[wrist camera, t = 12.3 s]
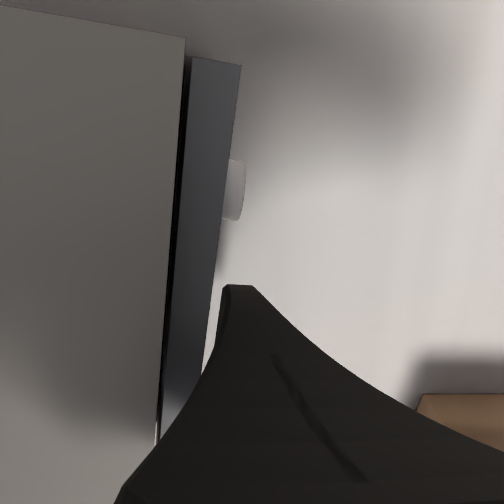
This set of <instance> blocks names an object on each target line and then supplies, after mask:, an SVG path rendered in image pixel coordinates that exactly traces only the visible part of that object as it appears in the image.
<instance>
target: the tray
mask: <svg viewBox="0 0 504 504" xmlns="http://www.w3.org/2000/svg"><path fill="white" fill-rule="evenodd" d="M240 71H241V65H237V64H231V63H225V62H219V61H213V60H207V59H201V58H195V57H189V56H187V57H186V69H185V82H184V94H183V107H182V119H181V132H180V145H179V157H178V170H177V182H176V195H175V207H174V220H173V232H172V245H171V258H170V270H169V283H168V295H167V308H166V320H165V333H164V345H163V358H162V370H161V383H160V396H159V408H158V421H157V436H156V444H157V443H158V442H159V441H160V439H161V438H162V436H163V435H164V434H165V432H166V431H167V429H168V428H169V427H170V425H171V424H172V422H173V421H174V419H175V418H176V417H177V415H178V414H179V412H180V411H181V409H182V408H183V406H184V405H185V403H186V401H187V400H188V398H189V397H190V395H191V393H192V391H193V389H194V388H195V386H196V384H197V382H198V381H199V379H200V377H201V371H202V363H203V356H204V348H205V340H206V333H207V325H208V317H209V310H210V302H211V294H212V286H213V279H214V271H215V263H216V256H217V248H218V240H219V233H220V225H221V219H225V220H236V221H237V220H238V219H239V217H240V214H241V210H242V205H243V199H244V190H245V166H244V162H243V161H239V160H231V159H229V156H230V148H231V140H232V133H233V125H234V117H235V110H236V102H237V94H238V87H239V79H240Z"/></svg>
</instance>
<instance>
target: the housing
mask: <svg viewBox="0 0 504 504" xmlns="http://www.w3.org/2000/svg"><path fill="white" fill-rule="evenodd" d="M185 39H186V38H184V37H178V36H173V35H167V34H162V33H156V32H150V31H145V30H139V29H134V28H128V27H122V26H117V25H111V24H105V23H100V22H94V21H89V20H83V19H77V18H72V17H66V16H61V15H55V14H49V13H44V12H38V11H32V10H27V9H21V8H16V7H10V6H4V5H0V504H114V502H115V499H116V497H117V495H118V493H119V491H120V489H121V486H122V485H123V484H124V483H125V481H126V480H127V479H128V478H129V477H130V476H131V474H132V473H133V472H134V471H135V470H136V468H137V467H138V466H139V465H140V464H141V463H142V461H143V460H144V459H145V458H146V457H147V455H148V454H149V453H150V452H151V451H152V450H153V448H154V439H155V426H156V413H157V400H158V387H159V374H160V361H161V348H162V335H163V323H164V310H165V297H166V284H167V271H168V258H169V245H170V232H171V219H172V206H173V194H174V181H175V168H176V155H177V142H178V129H179V116H180V103H181V90H182V77H183V65H184V52H185Z"/></svg>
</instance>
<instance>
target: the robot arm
mask: <svg viewBox="0 0 504 504" xmlns="http://www.w3.org/2000/svg"><path fill="white" fill-rule="evenodd" d="M114 504H504V452H503V451H501V450H498V449H496V448H493V447H491V446H489V445H486V444H484V443H481V442H479V441H476V440H474V439H472V438H469V437H467V436H465V435H463V434H461V433H459V432H456V431H454V430H452V429H450V428H448V427H446V426H444V425H442V424H440V423H438V422H436V421H434V420H432V419H430V418H428V417H426V416H424V415H422V414H420V413H418V412H416V411H414V410H413V409H411V408H409V407H407V406H405V405H403V404H402V403H400V402H398V401H396V400H395V399H393V398H391V397H390V396H388V395H386V394H384V393H383V392H381V391H379V390H378V389H376V388H374V387H373V386H371V385H370V384H368V383H367V382H365V381H363V380H362V379H360V378H359V377H357V376H356V375H355V374H353V373H352V372H350V371H349V370H347V369H346V368H345V367H343V366H342V365H340V364H339V363H337V362H336V361H335V360H334V359H332V358H331V357H330V356H328V355H327V354H326V353H324V352H323V351H322V350H321V349H320V348H318V347H317V346H316V345H315V344H314V343H312V342H311V341H310V340H309V339H308V338H306V337H305V336H304V335H303V334H302V333H301V332H300V331H299V330H297V329H296V328H295V327H294V326H293V325H292V324H291V323H290V322H289V321H288V320H287V319H286V318H285V317H284V316H283V315H282V314H281V313H280V312H279V311H278V310H277V309H276V308H275V307H274V306H273V305H272V304H271V303H270V302H269V301H268V300H267V299H266V298H265V297H264V296H263V295H262V294H261V293H260V292H259V291H258V290H257V289H256V288H254V287H253V286H252V285H233V284H227V285H226V286H225V287H223V289H222V296H221V303H220V310H219V317H218V324H217V331H216V338H215V345H214V348H213V351H212V353H211V355H210V358H209V360H208V362H207V364H206V367H205V369H204V371H203V373H202V375H201V377H200V379H199V381H198V382H197V384H196V386H195V388H194V389H193V391H192V393H191V395H190V397H189V398H188V400H187V401H186V403H185V405H184V406H183V408H182V409H181V411H180V412H179V414H178V415H177V417H176V418H175V419H174V421H173V422H172V424H171V425H170V427H169V428H168V429H167V431H166V432H165V434H164V435H163V436H162V438H161V439H160V441H159V442H158V443H157V444H156V446H155V447H154V448H153V450H152V451H151V452H150V453H149V454H148V455H147V457H146V458H145V459H144V460H143V461H142V463H141V464H140V465H139V466H138V467H137V468H136V470H135V471H134V472H133V473H132V474H131V476H130V477H129V478H128V479H127V480H126V481H125V483H124V484H123V485H122V486H121V489H120V491H119V493H118V495H117V497H116V499H115V502H114Z"/></svg>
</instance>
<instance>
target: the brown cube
mask: <svg viewBox="0 0 504 504" xmlns="http://www.w3.org/2000/svg"><path fill="white" fill-rule="evenodd" d="M416 412H418V413H420V414H422V415H424V416H426V417H428V418H430V419H432V420H434V421H436V422H438V423H440V424H442V425H444V426H446V427H448V428H450V429H452V430H454V431H456V432H459V433H461V434H463V435H465V436H467V437H469V438H472V439H474V440H476V441H479V442H481V443H484V444H486V445H489V446H491V447H493V448H496V449H498V450H501V451H503V452H504V394H445V395H423V396H422V398H421V401H420V403H419V405H418V408H417V410H416Z"/></svg>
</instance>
